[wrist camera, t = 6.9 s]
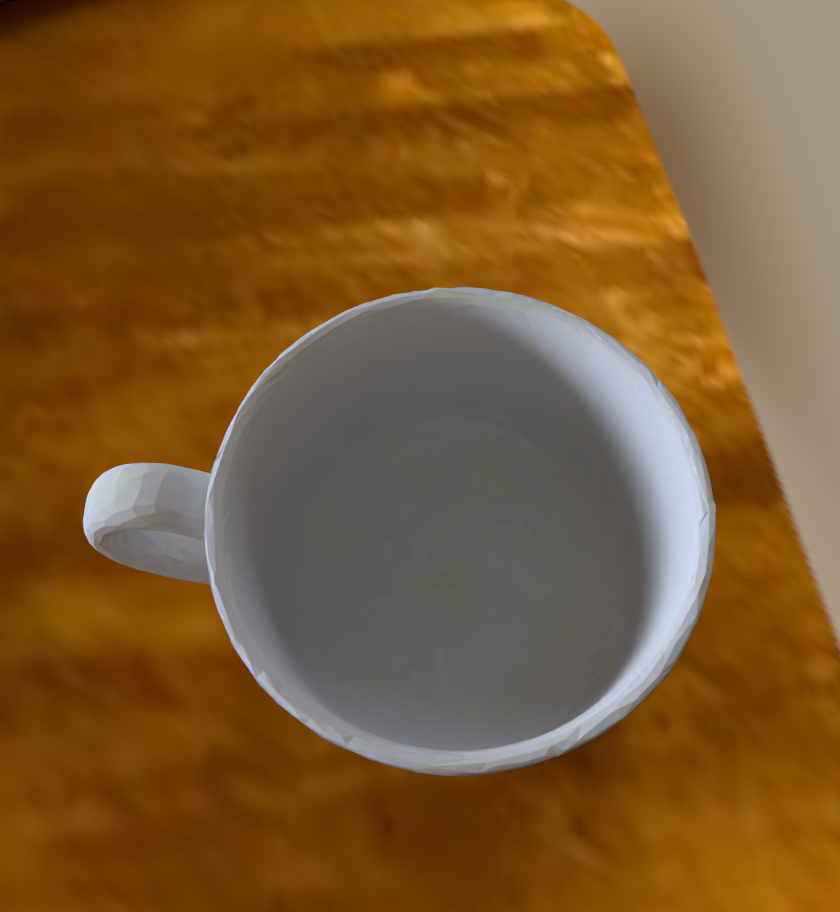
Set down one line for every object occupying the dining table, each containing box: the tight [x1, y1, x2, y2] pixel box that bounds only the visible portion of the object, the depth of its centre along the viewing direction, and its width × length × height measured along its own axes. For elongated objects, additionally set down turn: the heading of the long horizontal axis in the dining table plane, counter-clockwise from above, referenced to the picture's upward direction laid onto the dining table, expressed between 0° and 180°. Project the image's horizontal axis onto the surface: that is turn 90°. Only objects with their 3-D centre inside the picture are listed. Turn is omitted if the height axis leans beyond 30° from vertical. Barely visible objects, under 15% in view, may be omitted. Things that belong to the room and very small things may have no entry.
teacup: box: [83, 287, 716, 776], centre depth 20 cm, size 14×11×8 cm
